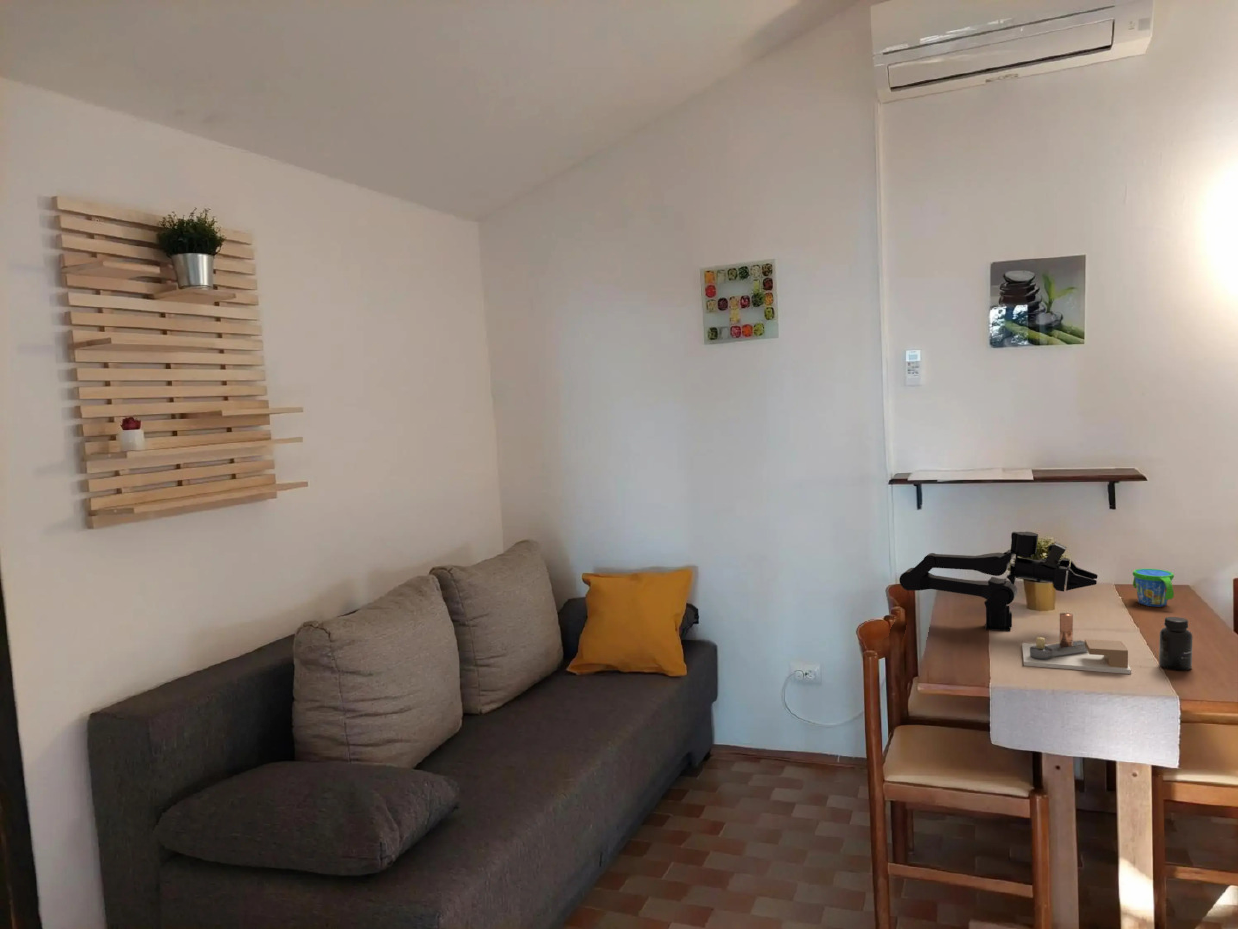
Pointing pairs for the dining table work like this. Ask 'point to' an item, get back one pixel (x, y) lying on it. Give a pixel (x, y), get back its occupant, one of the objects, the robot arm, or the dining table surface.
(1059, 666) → the base
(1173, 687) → the dining table surface
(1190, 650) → the supplement bottle
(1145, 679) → the dining table surface
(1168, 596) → the snack cup
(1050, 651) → the link
